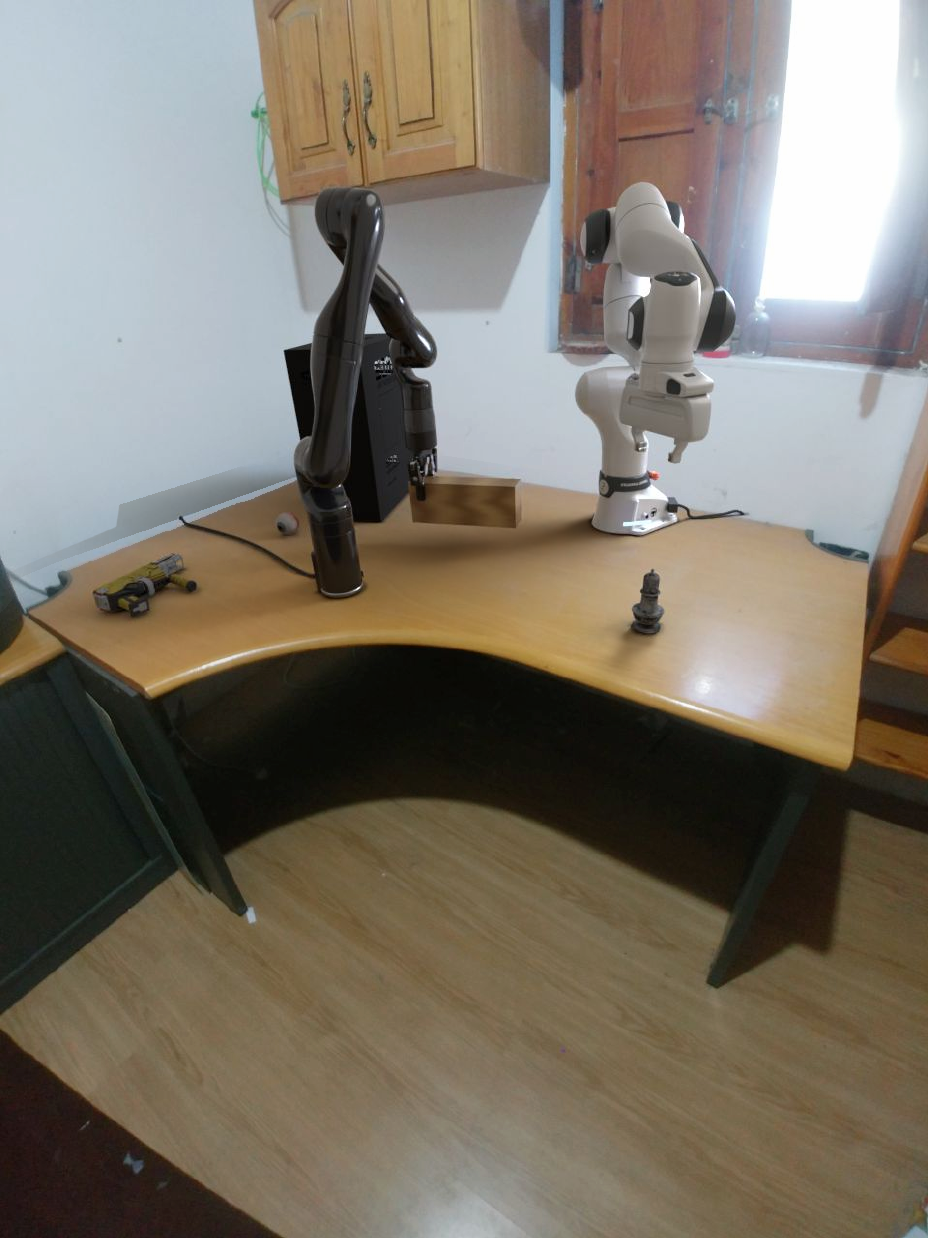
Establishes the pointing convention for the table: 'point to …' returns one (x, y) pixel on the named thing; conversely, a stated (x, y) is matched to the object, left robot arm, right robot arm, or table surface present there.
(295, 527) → the eyeball
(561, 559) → the table surface
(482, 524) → the box
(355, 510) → the cardboard box
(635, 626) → the grey chess piece
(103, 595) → the toy gun
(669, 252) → the right robot arm
